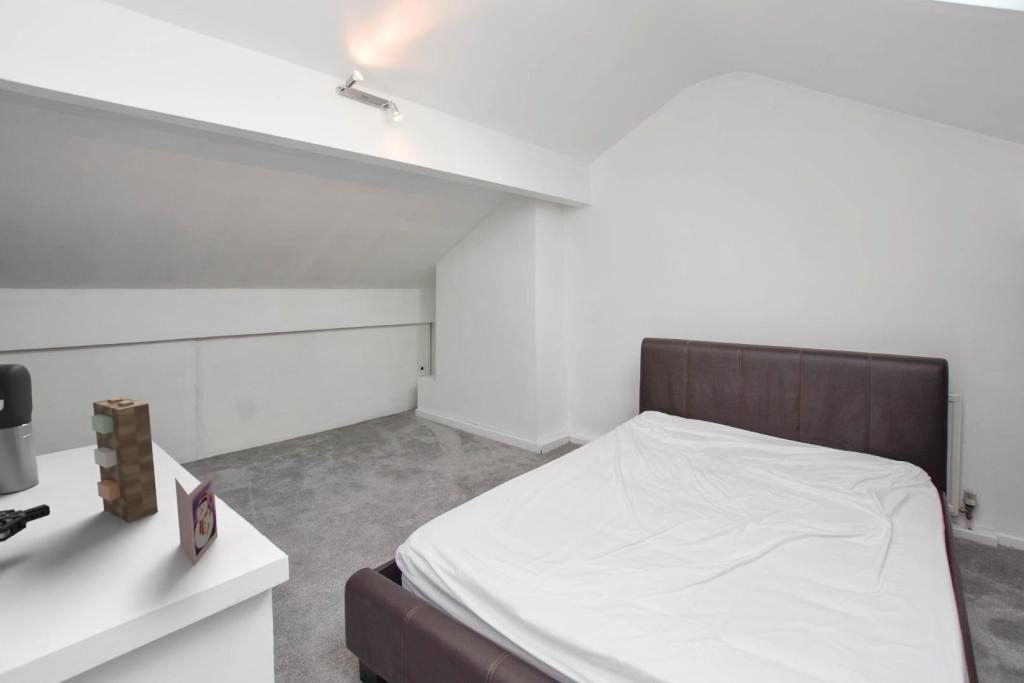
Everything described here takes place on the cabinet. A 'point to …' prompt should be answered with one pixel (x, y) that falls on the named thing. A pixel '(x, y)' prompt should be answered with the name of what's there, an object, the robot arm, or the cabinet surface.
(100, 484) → the block
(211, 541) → the greeting card
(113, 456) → the key middle
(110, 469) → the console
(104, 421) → the key top
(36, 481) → the robot arm
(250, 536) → the cabinet surface
